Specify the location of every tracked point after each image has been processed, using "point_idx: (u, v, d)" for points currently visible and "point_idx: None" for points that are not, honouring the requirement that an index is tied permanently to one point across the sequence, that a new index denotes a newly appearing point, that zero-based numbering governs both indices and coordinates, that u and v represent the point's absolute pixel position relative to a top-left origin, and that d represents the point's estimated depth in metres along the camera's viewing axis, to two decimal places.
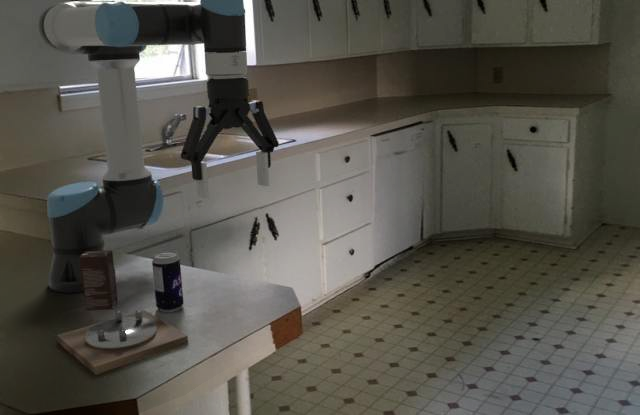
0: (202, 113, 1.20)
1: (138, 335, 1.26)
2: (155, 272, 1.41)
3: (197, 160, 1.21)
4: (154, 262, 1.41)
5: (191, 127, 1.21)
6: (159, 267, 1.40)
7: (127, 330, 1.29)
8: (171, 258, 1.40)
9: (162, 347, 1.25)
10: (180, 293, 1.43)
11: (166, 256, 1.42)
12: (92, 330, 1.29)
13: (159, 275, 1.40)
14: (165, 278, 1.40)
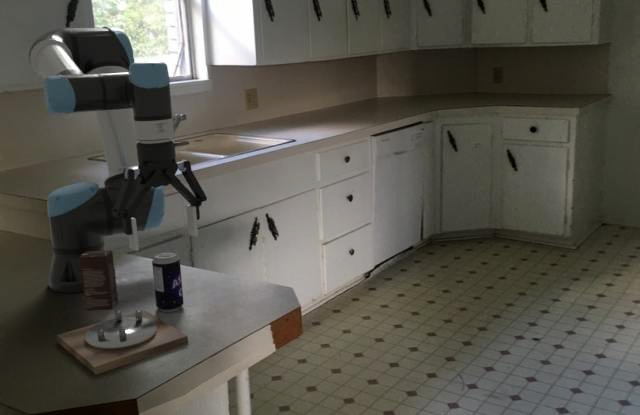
0: (131, 175, 1.33)
1: (138, 335, 1.26)
2: (155, 272, 1.41)
3: (127, 217, 1.34)
4: (154, 262, 1.41)
5: (121, 187, 1.34)
6: (159, 267, 1.40)
7: (127, 330, 1.29)
8: (171, 258, 1.40)
9: (162, 347, 1.25)
10: (180, 293, 1.43)
11: (166, 256, 1.42)
12: (92, 330, 1.29)
13: (159, 275, 1.40)
14: (165, 278, 1.40)
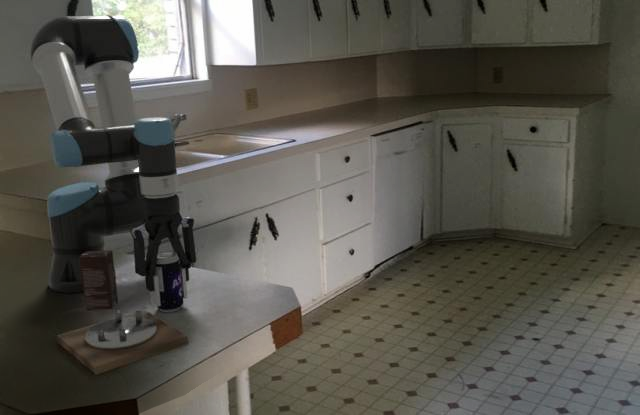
0: (138, 235, 1.36)
1: (138, 335, 1.26)
2: (155, 272, 1.41)
3: (150, 276, 1.39)
4: None
5: (134, 247, 1.38)
6: (159, 267, 1.40)
7: (127, 330, 1.29)
8: (171, 258, 1.41)
9: (162, 347, 1.25)
10: (180, 292, 1.43)
11: (166, 256, 1.42)
12: (92, 330, 1.29)
13: (159, 275, 1.40)
14: (165, 278, 1.40)
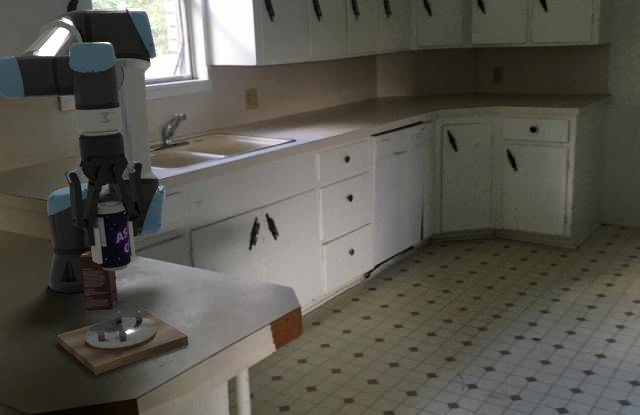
0: (74, 179, 1.17)
1: (138, 335, 1.26)
2: (96, 223, 1.21)
3: (89, 227, 1.20)
4: None
5: (70, 193, 1.19)
6: (101, 217, 1.20)
7: (127, 330, 1.29)
8: (114, 207, 1.21)
9: (162, 347, 1.25)
10: (126, 248, 1.24)
11: (109, 205, 1.22)
12: (92, 330, 1.29)
13: (100, 227, 1.21)
14: (107, 230, 1.21)
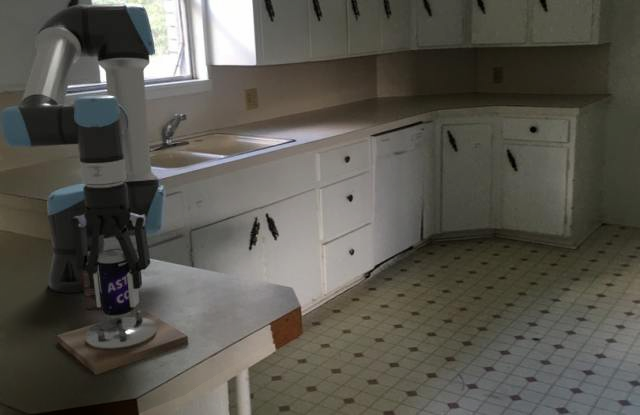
0: (74, 224, 1.23)
1: (138, 335, 1.26)
2: None
3: (88, 271, 1.25)
4: None
5: None
6: (97, 265, 1.24)
7: (127, 330, 1.29)
8: (107, 258, 1.22)
9: (162, 347, 1.25)
10: (119, 299, 1.24)
11: (109, 254, 1.24)
12: (92, 330, 1.29)
13: (98, 273, 1.24)
14: (101, 278, 1.24)
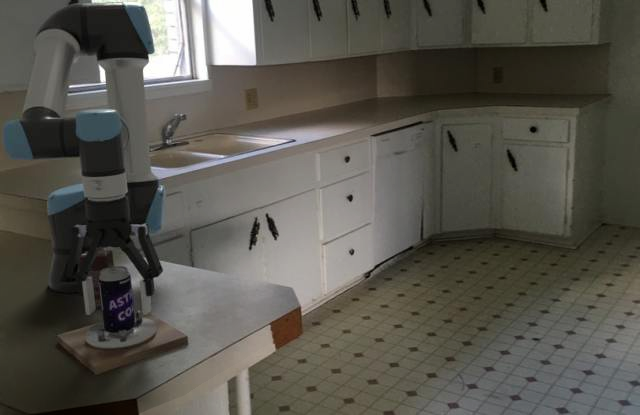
0: (73, 233, 1.23)
1: (138, 335, 1.26)
2: None
3: (77, 278, 1.25)
4: None
5: None
6: (99, 282, 1.25)
7: None
8: (109, 276, 1.23)
9: (162, 347, 1.25)
10: (120, 317, 1.25)
11: (111, 272, 1.25)
12: (92, 330, 1.29)
13: (100, 291, 1.25)
14: (102, 295, 1.24)
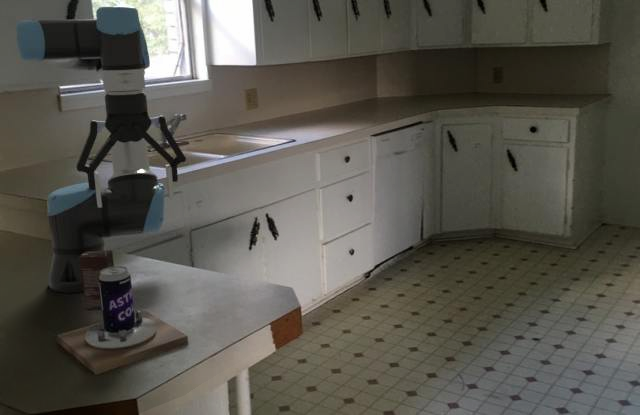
0: (93, 127, 1.26)
1: (138, 335, 1.26)
2: None
3: (88, 171, 1.27)
4: None
5: None
6: (99, 282, 1.25)
7: None
8: (109, 276, 1.23)
9: (162, 347, 1.25)
10: (120, 317, 1.25)
11: (111, 272, 1.25)
12: (92, 330, 1.29)
13: (100, 291, 1.25)
14: (102, 295, 1.24)
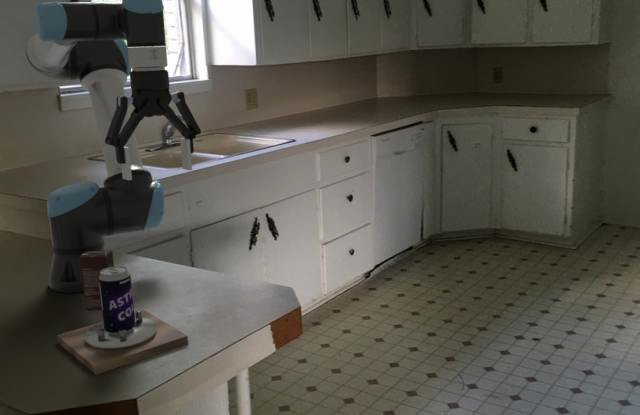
0: (124, 102, 1.32)
1: (138, 335, 1.26)
2: None
3: (120, 145, 1.33)
4: None
5: (114, 115, 1.33)
6: (99, 282, 1.25)
7: None
8: (109, 276, 1.23)
9: (162, 347, 1.25)
10: (120, 317, 1.25)
11: (111, 272, 1.25)
12: (92, 330, 1.29)
13: (100, 291, 1.25)
14: (102, 295, 1.24)
